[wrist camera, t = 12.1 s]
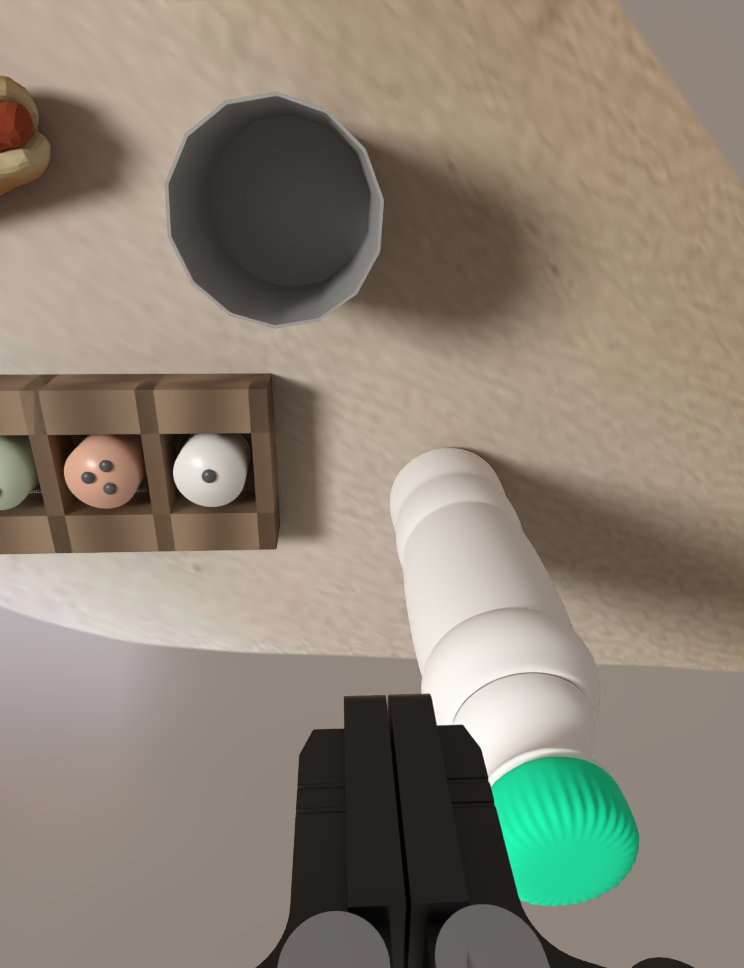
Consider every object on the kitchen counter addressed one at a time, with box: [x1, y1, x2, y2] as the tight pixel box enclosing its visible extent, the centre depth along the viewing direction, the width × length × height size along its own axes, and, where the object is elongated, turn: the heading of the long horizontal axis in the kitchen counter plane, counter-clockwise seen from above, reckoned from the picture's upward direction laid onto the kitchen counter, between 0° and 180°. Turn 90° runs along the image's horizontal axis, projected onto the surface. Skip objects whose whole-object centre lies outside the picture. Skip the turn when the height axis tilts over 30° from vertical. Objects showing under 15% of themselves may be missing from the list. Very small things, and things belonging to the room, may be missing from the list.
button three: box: [64, 434, 147, 509], centre depth 38 cm, size 4×4×3 cm
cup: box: [165, 92, 384, 328], centre depth 30 cm, size 8×8×10 cm
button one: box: [173, 433, 251, 507], centre depth 39 cm, size 4×4×3 cm
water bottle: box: [390, 448, 639, 907], centre depth 31 cm, size 7×7×25 cm
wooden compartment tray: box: [0, 374, 280, 554], centre depth 38 cm, size 19×10×3 cm, turn 89°
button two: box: [0, 435, 39, 510], centre depth 38 cm, size 4×4×3 cm
